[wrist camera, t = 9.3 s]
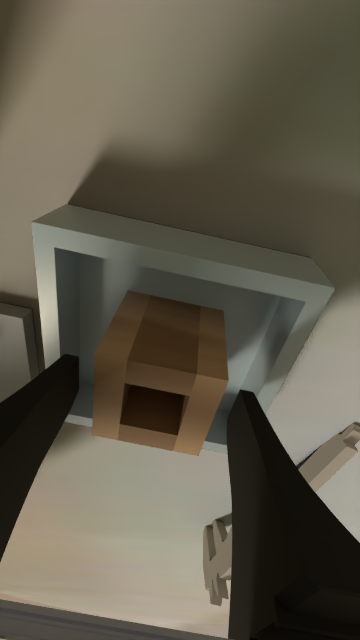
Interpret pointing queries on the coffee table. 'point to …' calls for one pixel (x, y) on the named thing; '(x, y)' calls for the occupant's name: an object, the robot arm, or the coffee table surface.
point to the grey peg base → (16, 349)
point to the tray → (173, 297)
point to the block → (160, 373)
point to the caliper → (316, 475)
